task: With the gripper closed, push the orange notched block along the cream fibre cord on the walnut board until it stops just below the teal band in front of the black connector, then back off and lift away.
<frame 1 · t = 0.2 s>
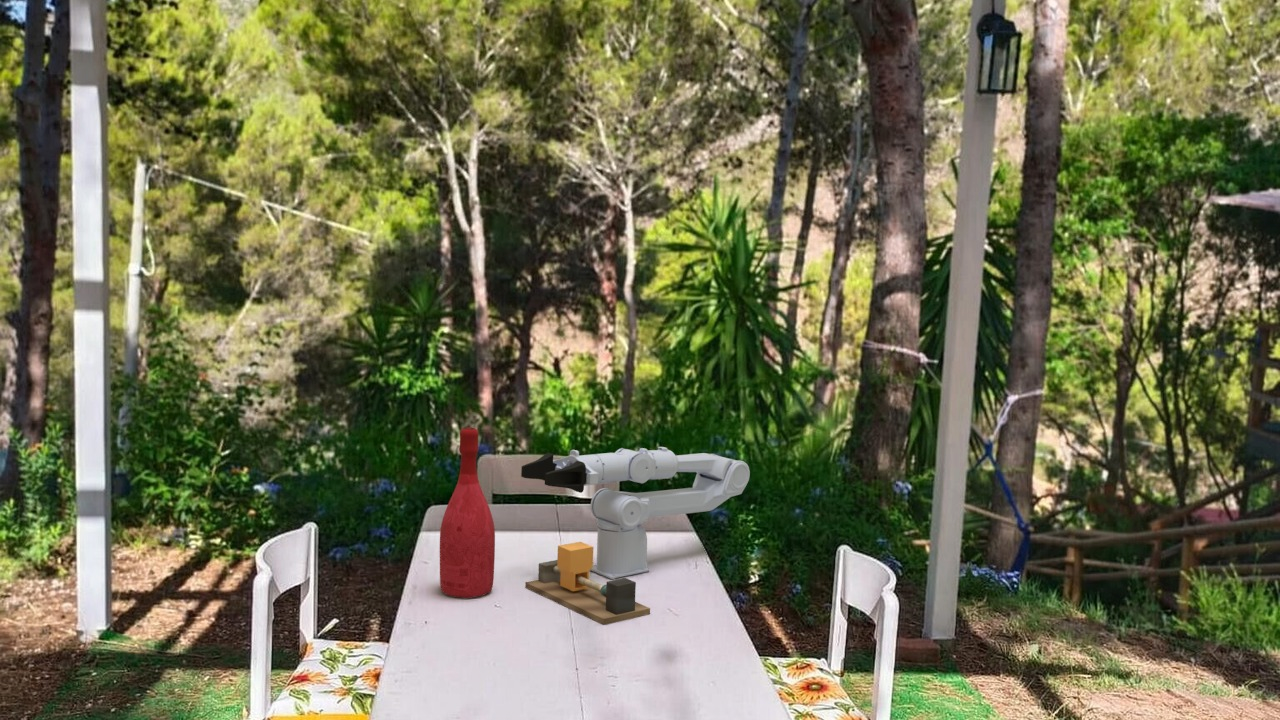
hand: (533, 475, 203), 21 cm above the table, tool horizontal, fingers open, 7 cm apart
orange notched block: (575, 566, 202), point 5 cm above the table, slide at 0.0 cm
wine bottle: (466, 592, 203), on the table
cord rig: (585, 600, 200), on the table
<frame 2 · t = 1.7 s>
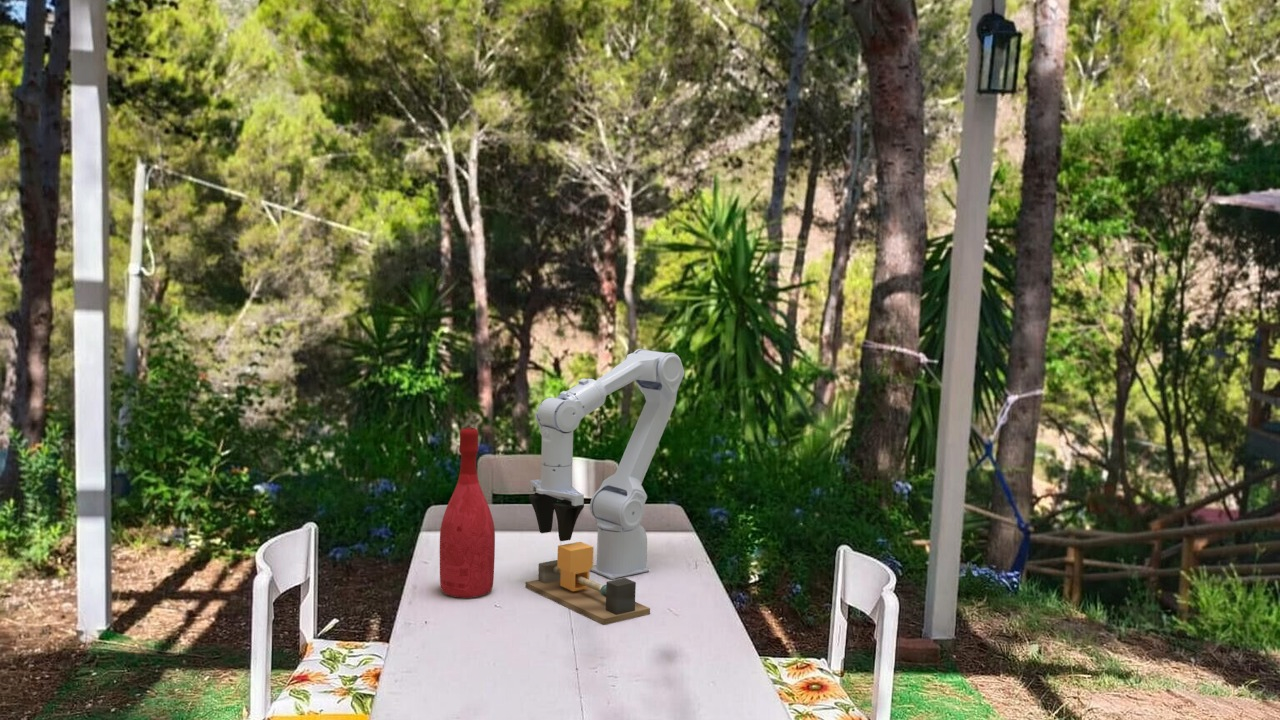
hand: (555, 536, 206), 9 cm above the table, tool pointing down, fingers open, 6 cm apart
nothing on the table moved.
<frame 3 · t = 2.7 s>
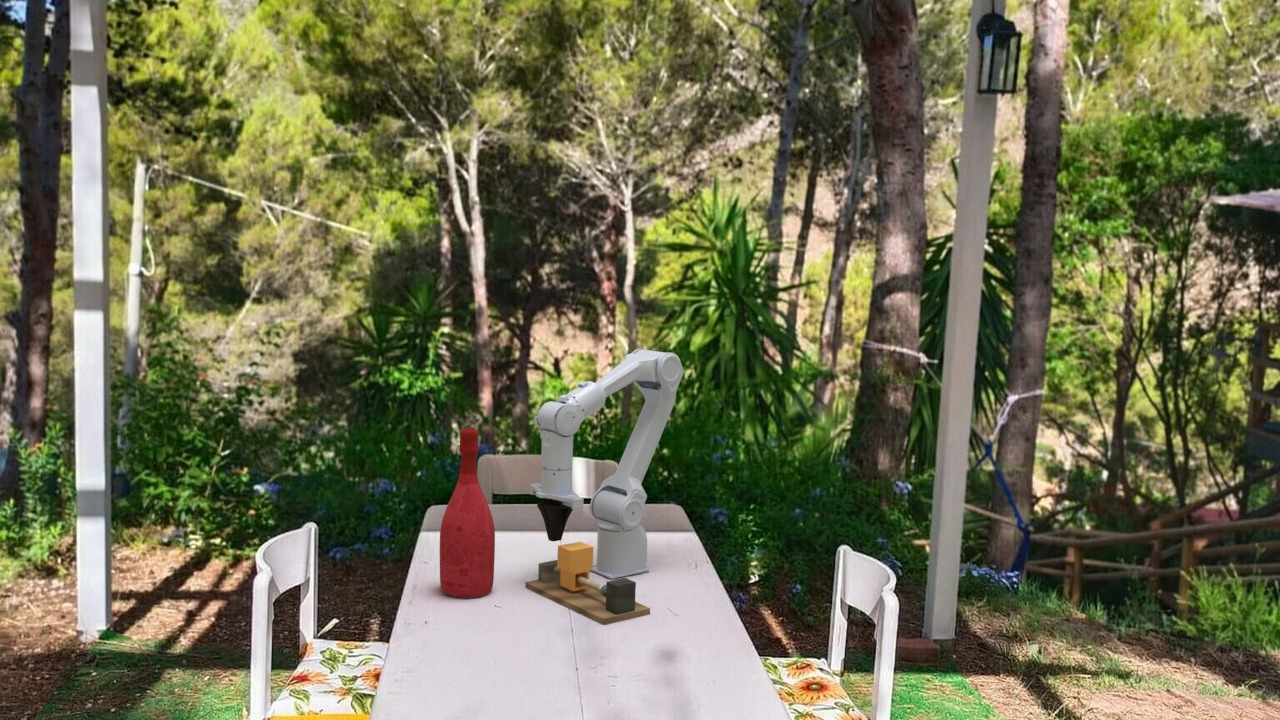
hand: (554, 540, 206), 9 cm above the table, tool pointing down, fingers closed
nothing on the table moved.
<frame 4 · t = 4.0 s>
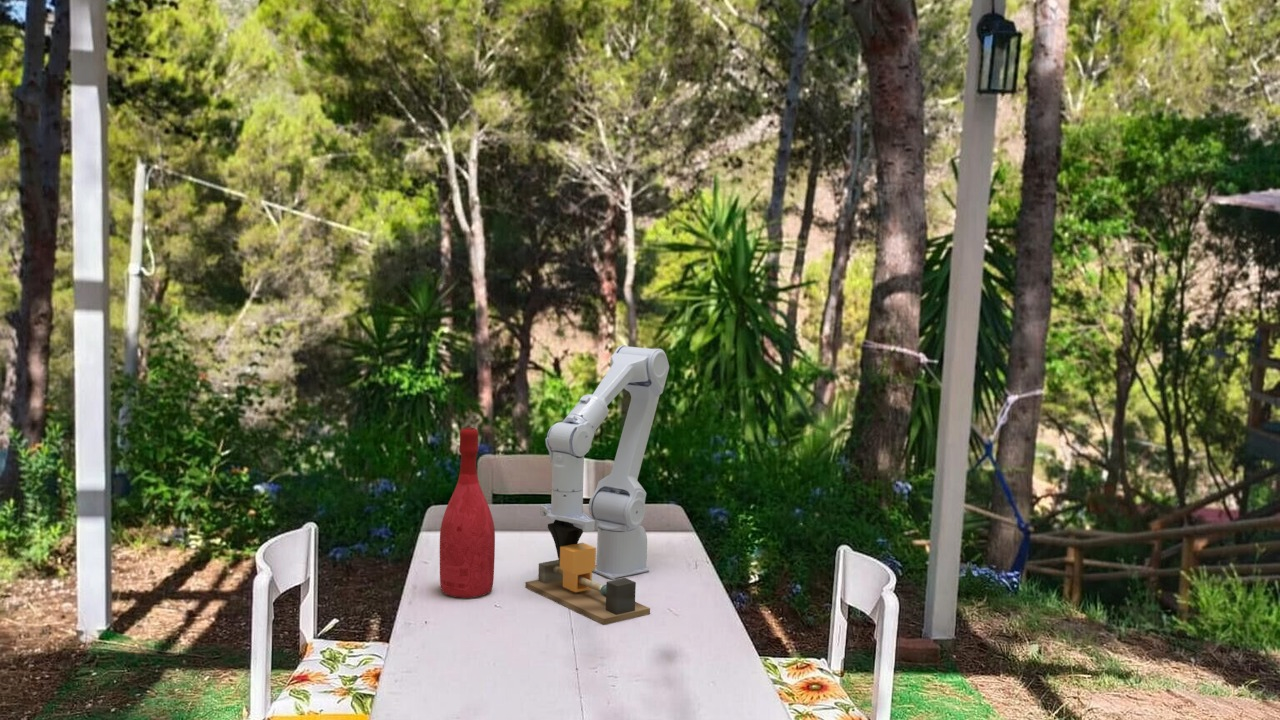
hand: (565, 562, 204), 5 cm above the table, tool pointing down, fingers closed
orange notched block: (577, 567, 201), point 5 cm above the table, slide at 0.7 cm, touching gripper
everything else where it was.
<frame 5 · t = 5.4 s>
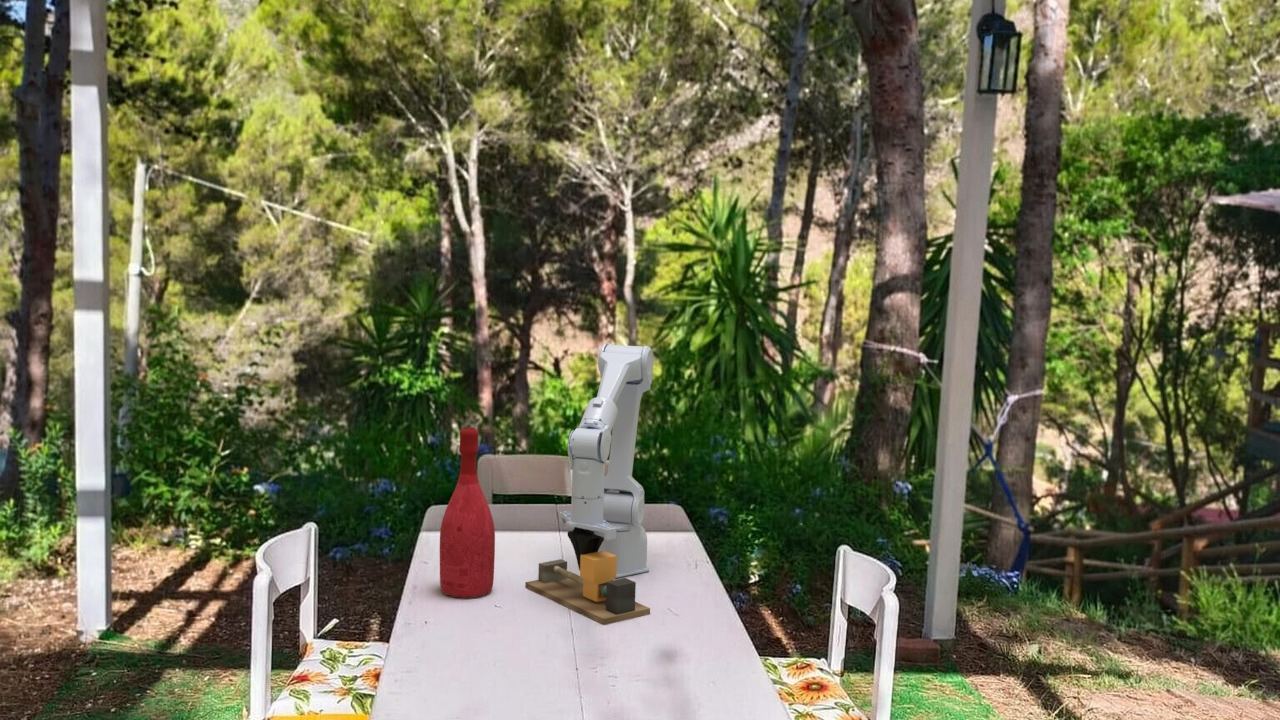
hand: (585, 570, 199), 5 cm above the table, tool pointing down, fingers closed
orange notched block: (598, 576, 196), point 5 cm above the table, slide at 7.0 cm, touching gripper
everything else where it was.
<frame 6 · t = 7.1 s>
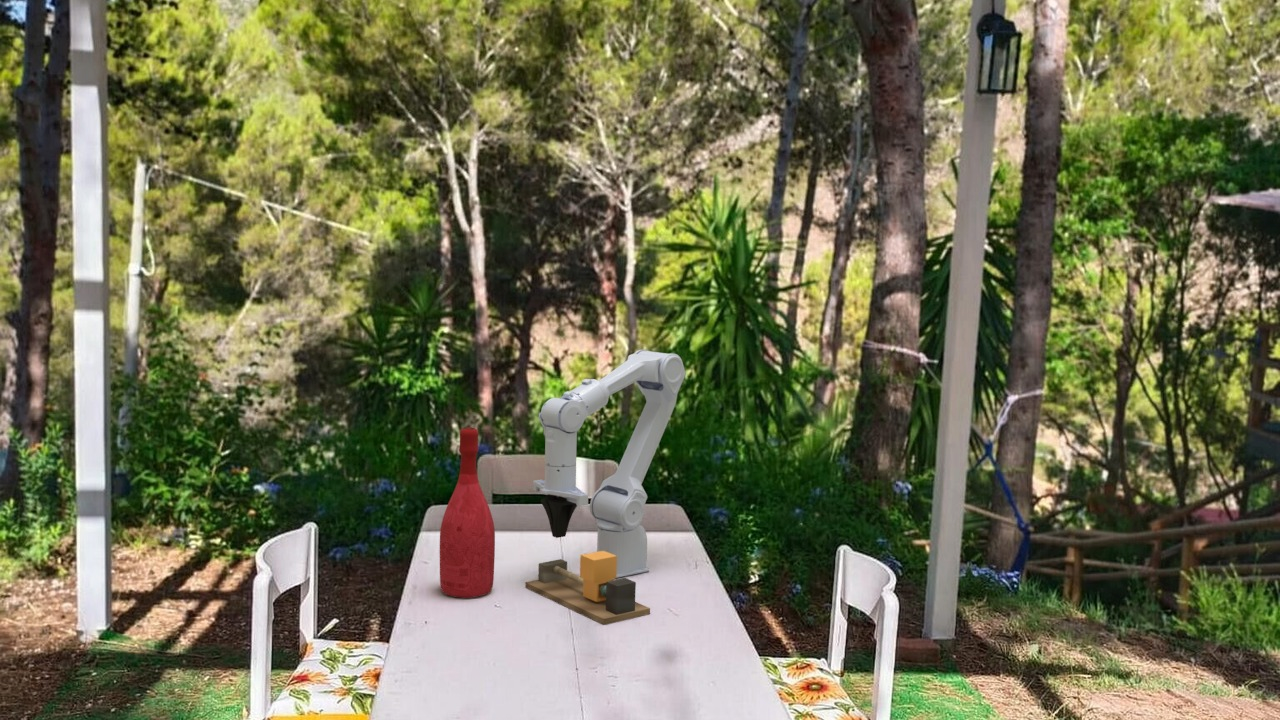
hand: (559, 536, 207), 9 cm above the table, tool pointing down, fingers closed
orange notched block: (598, 576, 196), point 5 cm above the table, slide at 7.0 cm
everything else where it was.
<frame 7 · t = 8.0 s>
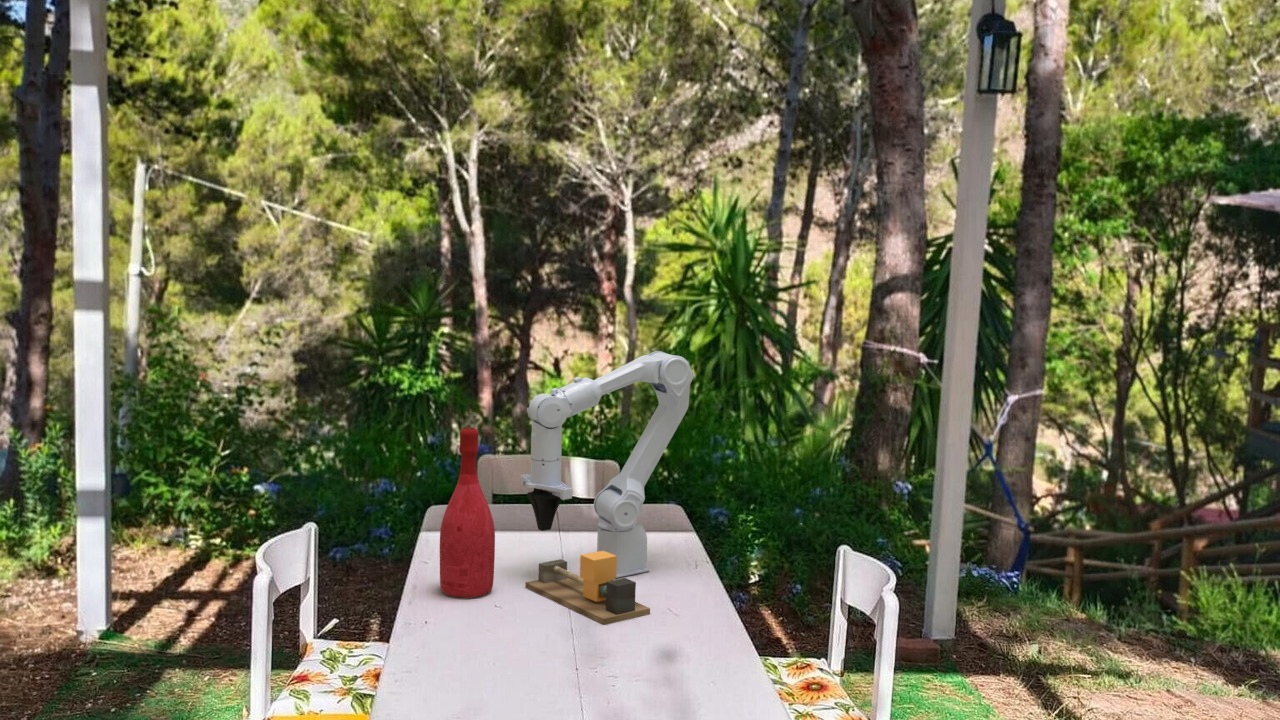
hand: (544, 529, 211), 9 cm above the table, tool pointing down, fingers closed
nothing on the table moved.
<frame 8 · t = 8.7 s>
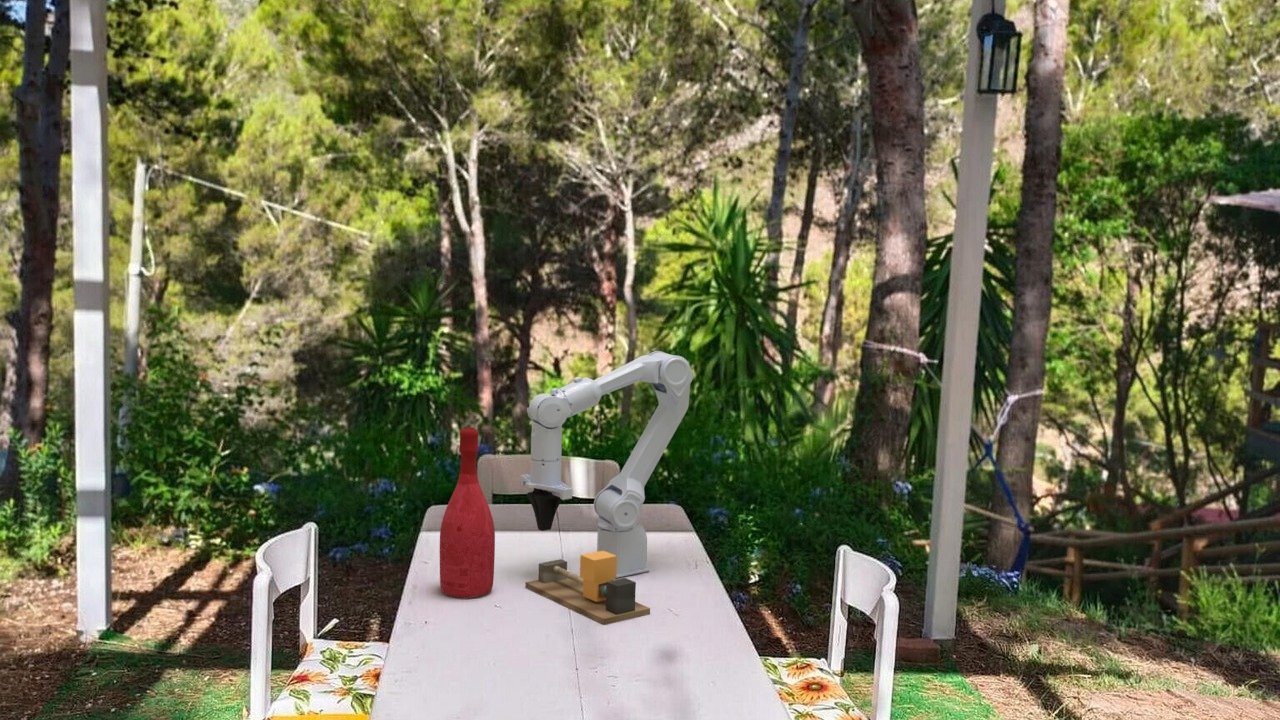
hand: (544, 529, 211), 9 cm above the table, tool pointing down, fingers closed
nothing on the table moved.
at the end: orange notched block slide at 7.0 cm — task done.
